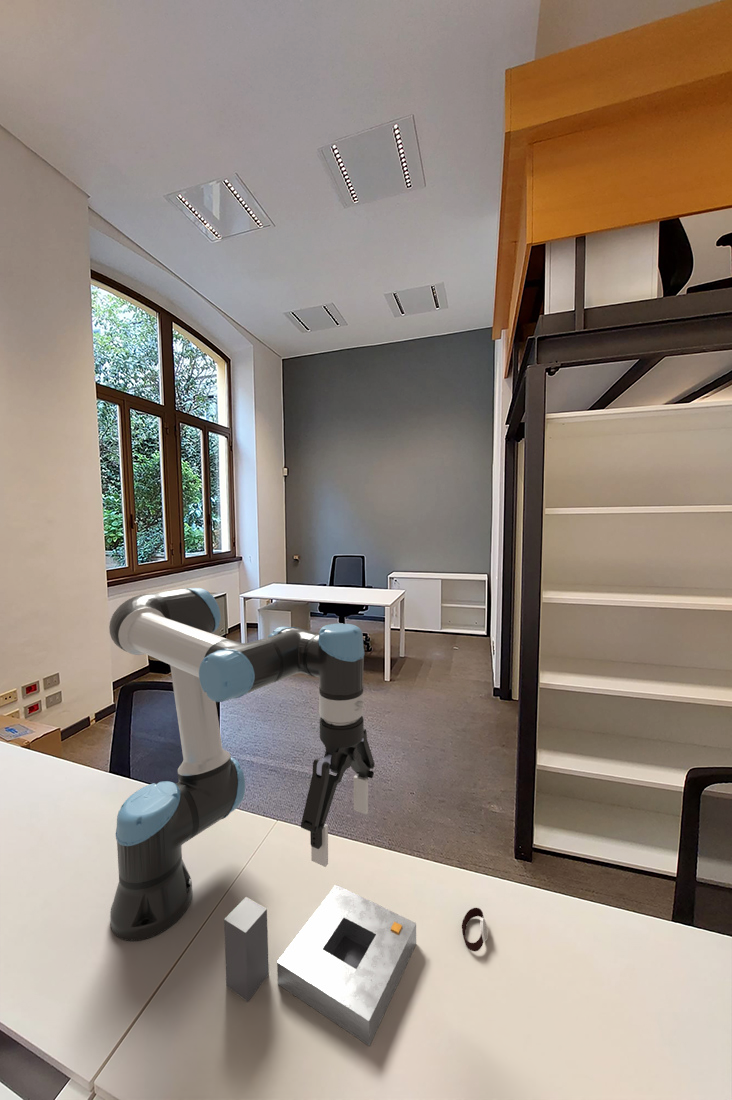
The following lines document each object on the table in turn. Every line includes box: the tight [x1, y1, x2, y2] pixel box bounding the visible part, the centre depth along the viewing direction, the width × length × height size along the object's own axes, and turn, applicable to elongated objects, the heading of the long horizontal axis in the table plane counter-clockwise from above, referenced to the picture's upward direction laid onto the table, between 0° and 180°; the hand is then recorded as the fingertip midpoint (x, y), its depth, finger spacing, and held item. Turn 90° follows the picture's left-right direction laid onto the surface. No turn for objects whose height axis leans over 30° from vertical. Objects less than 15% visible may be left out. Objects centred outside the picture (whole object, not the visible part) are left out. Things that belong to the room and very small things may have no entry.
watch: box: [461, 907, 488, 952], centre depth 81 cm, size 8×5×4 cm, turn 160°
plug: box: [223, 896, 270, 1003], centre depth 73 cm, size 5×5×12 cm
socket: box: [276, 884, 417, 1047], centre depth 76 cm, size 18×18×4 cm
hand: (341, 835), depth 74 cm, fingers open, 13 cm apart
